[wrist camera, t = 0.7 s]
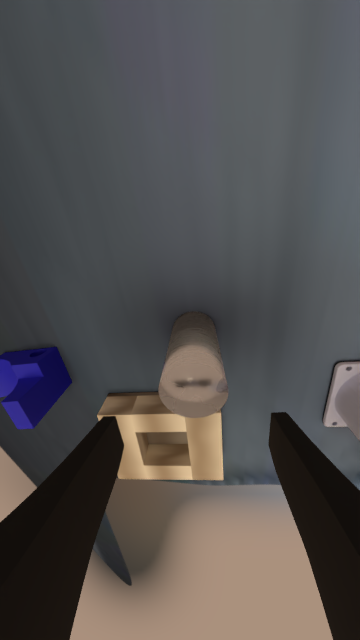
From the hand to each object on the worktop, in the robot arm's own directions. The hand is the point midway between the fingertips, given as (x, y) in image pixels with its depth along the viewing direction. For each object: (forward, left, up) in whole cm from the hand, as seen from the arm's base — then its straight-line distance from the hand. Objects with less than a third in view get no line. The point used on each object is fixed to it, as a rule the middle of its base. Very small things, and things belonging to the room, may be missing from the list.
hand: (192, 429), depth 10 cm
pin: (0, 0, -10) cm, 10 cm away
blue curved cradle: (+20, +3, -11) cm, 23 cm away
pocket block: (+4, +12, -10) cm, 16 cm away
